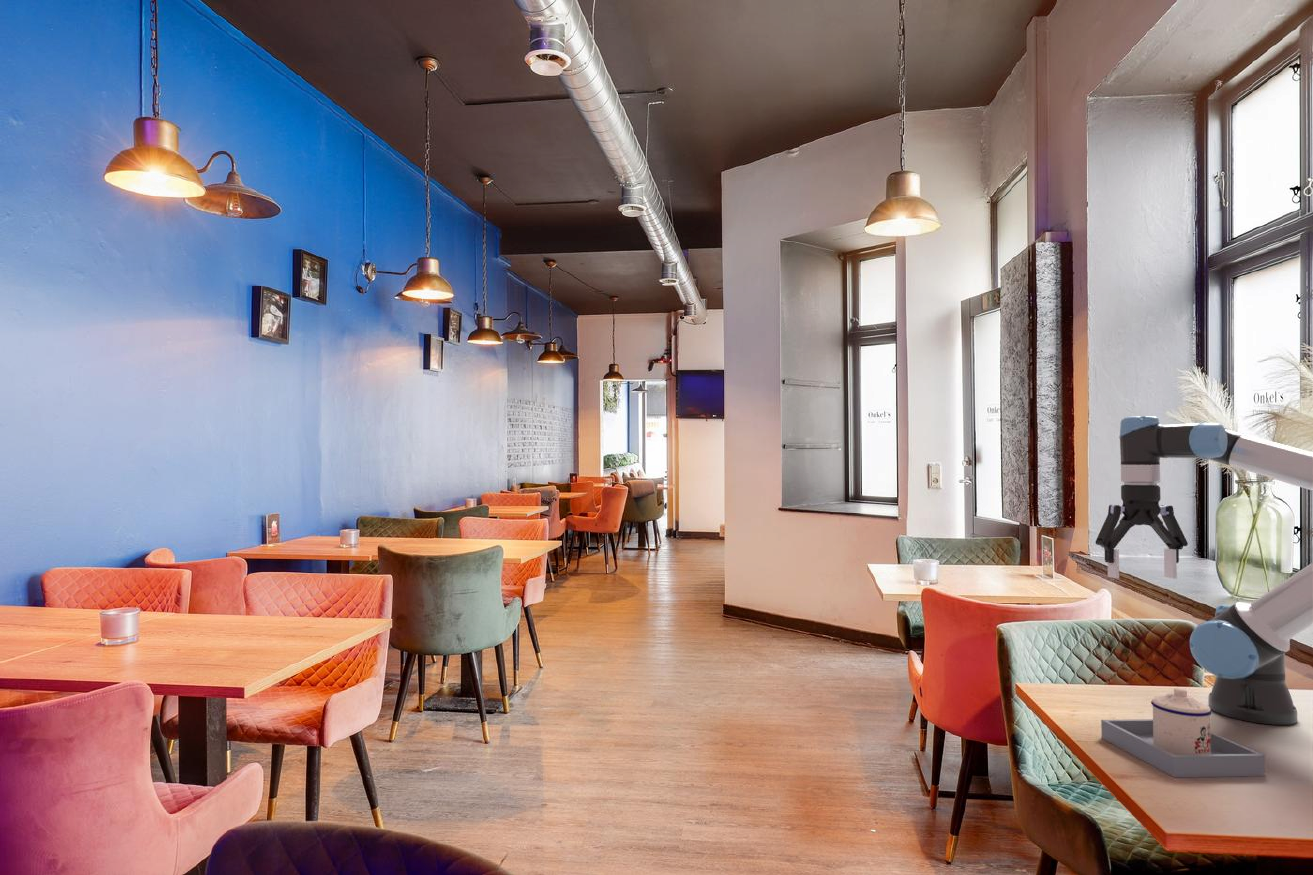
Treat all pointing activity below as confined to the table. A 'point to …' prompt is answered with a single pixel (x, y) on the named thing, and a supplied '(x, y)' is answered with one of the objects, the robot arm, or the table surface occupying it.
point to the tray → (1219, 763)
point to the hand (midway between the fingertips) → (1142, 577)
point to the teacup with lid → (1181, 724)
